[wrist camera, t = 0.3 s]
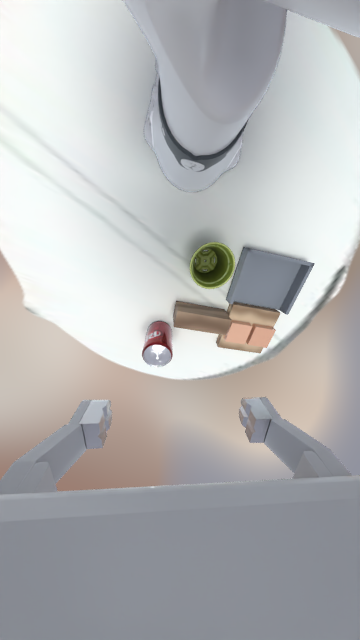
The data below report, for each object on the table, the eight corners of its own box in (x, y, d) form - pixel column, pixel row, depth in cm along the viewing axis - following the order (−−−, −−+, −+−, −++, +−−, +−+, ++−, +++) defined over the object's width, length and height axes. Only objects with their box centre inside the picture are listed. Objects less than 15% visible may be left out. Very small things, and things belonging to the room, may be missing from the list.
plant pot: (222, 277, 46) (233, 287, 38) (187, 281, 46) (190, 290, 38) (224, 238, 42) (236, 240, 34) (185, 242, 41) (188, 244, 34)
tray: (243, 247, 43) (249, 248, 39) (304, 261, 45) (314, 263, 42) (225, 299, 48) (229, 303, 45) (280, 309, 51) (288, 314, 48)
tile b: (252, 323, 49) (256, 326, 48) (271, 326, 50) (275, 330, 48) (245, 340, 52) (247, 344, 50) (263, 343, 53) (266, 347, 51)
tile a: (229, 319, 49) (232, 322, 47) (249, 322, 49) (252, 326, 48) (223, 337, 51) (225, 341, 49) (242, 340, 52) (244, 344, 50)
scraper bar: (176, 300, 48) (177, 310, 42) (224, 309, 50) (231, 320, 44) (173, 315, 50) (173, 326, 44) (219, 322, 52) (226, 335, 46)
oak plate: (230, 301, 49) (233, 304, 47) (275, 309, 51) (280, 313, 48) (216, 342, 55) (218, 347, 52) (256, 348, 57) (260, 353, 54)
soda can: (176, 327, 52) (178, 352, 41) (163, 345, 54) (162, 372, 43) (155, 315, 50) (151, 338, 39) (143, 334, 52) (136, 360, 41)
